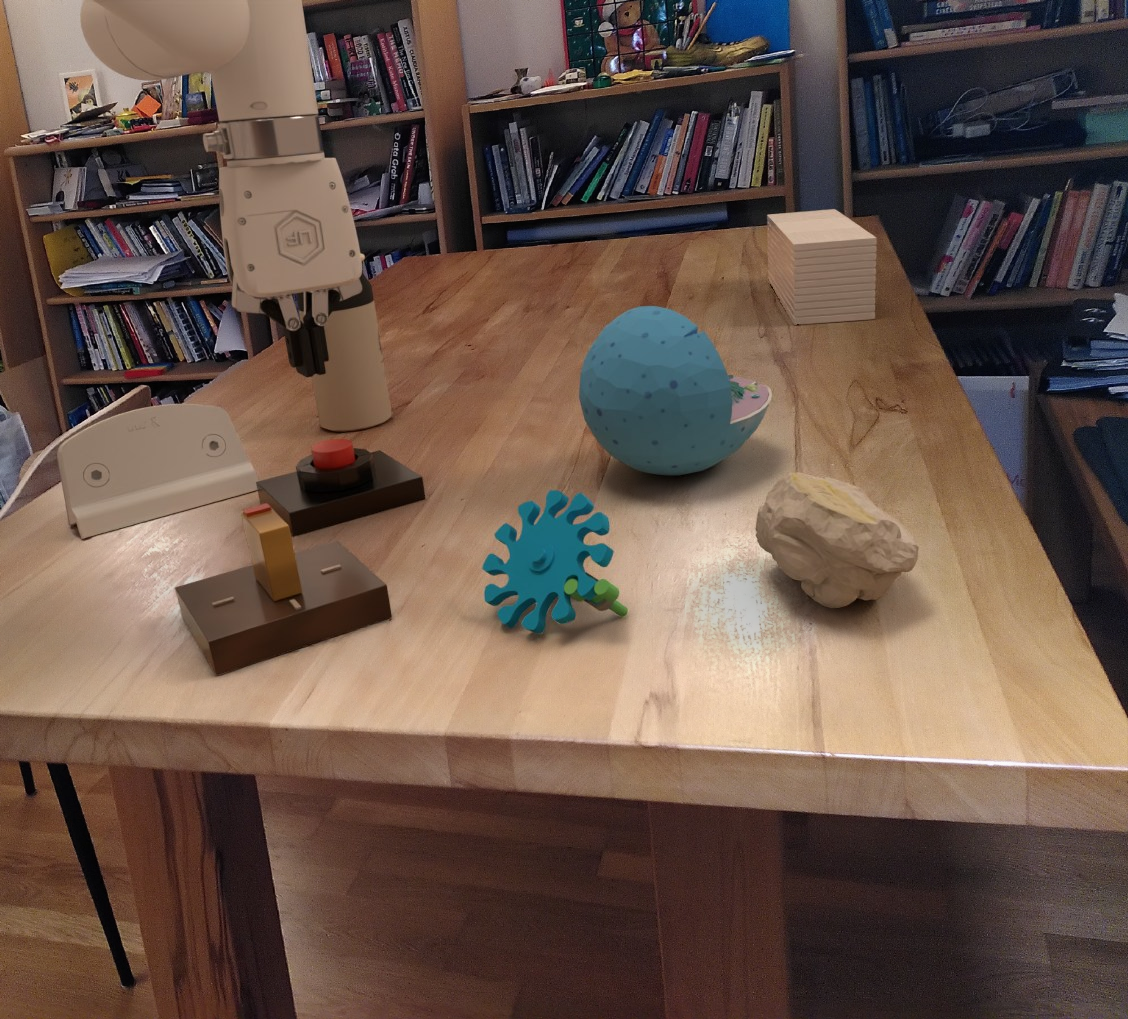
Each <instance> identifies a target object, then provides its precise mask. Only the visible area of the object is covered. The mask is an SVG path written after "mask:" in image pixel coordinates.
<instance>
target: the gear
mask: <svg viewBox="0 0 1128 1019" xmlns="http://www.w3.org/2000/svg"><path fill="white" fill-rule="evenodd" d="M569 500H570V498H569V497H568V496H567V495H566V494H565V493H563V492H561V491H560V490H557V489H556V490H555V489H550V490H549V491H548V492H547V494H546V496H545V505H544V509H543V512H542V514H541V515H540V513H541V506H540V505H539V504H538V503H536V501H534V500H528V501H525V502H522V503H521V504H519V505H518V509H517V513H518V515H519V517H520V518H521V532H520V535H519V537H518V539H517V536H518V531H517V529H516V528H515V527H513V526H512V525H510V524H509V523H507V522H505V523H503V524H502V525H501V526H499V528H498V529H497V530H496V532H494V537H495V539H496V540H497V541H499V542H500V543H502V544H503V545H505V546H506V548H507V550H508V553H509V558H508V560H506V562H504V559H502V558H501V557H500V556H498V555H496V554H495V553H488V555H487V556H486V558H485V559H484V562H483V565H482V567H481V569H482V570H483V571H484V572H485V573H487V574H489V575H490V576H493V577H495V576H499V575H507V578H508V580H507V582H506V584H505V585H504V586H502V587H500V586H498V585H497V584H494V583H489V584H487V585H486V586H484V592H483V593H484V594H483V596H484V597H483V598H484V602H485V603H487V604H489V605H490V606H492V607H497V606H499V605H501V604H502V603H503V602H504V601H505V600H507V599H509V598H511V597H515V596H517V600H516V601H515V602H514V603H513V604H509V605H503V606H501V607H500V608H499V609H498V610H497V612H496V615H497V618H498V620H499V621H500V622H501V623H502V625H504V626H505V627H507V628H509V629H513V628H515V627H516V626H517V625H518V623H519V622H520V619H521V618H522V616H523V614H524V613H525V612H526V611H527V610H528V609H529V608H531V607H532V606H534V605H535V607H534V609H533V610H531V611H530V612H528V613H527V614H526V615H525V616H524V617H523V618H522V620H521V627H523V629H525V630H527V631H529V632H532V633H533V634H537V635H541V634H543V633H544V631H545V629H546V620H547V615H548V612H549V609H550V608H551V606H552V605H553V603H554V602H555V600H556V599H557V598H558V599H557V602H556V604H555V605H554V607H553V608H552V610H551V619H552V620H553V621H555V622H556V623H558V624H559V625H565V624H568V623H571V622H573V621H575V620H576V616H577V612H576V610H575V608H574V607H573V603H572V599H574V600H576V601H578V602H583V601H584V602H585V603H586V604H588V605H589V606H591V607H593V608H594V609H595V610H597V611H599V612H605V611H608V610H609V611H611V612H613V613H614V614H616V615H617V616H618V617H620V618H624V617H626V616H627V615H628V613H629V609H628V607H627V606H625V605H624V604H622V603H621V602H620V601H618V598H619V597H620V589H619V587H617V586H616V585H614V584H613V583H612V582H610V581H609V580H607V579H605V578H601V579H599V578H596V577H595V576H593V575H591V574H589V572H587V571H586V569H585V567H584V566H585V565H584V563H585V561H586V559H587V558H588V557H590V558H591V560H592V561H593V562H594V563H595V564H597V565H598V566H599V567H601V568H608V567H609V565H610V563H611V562H612V559H613V556H614V552H615V550H614V549H612V548H611V546H608V545H607V544H605V543H604V542H601V543H597V544H586V543H585V542H584V541H585V537H586V536H587V535H588V534H590V533H594V534H596V535H598V536H601V537H602V536H603V537H604V536H606V535H608V534H609V532H610V526H611V524H610V520H609V517H608V516H607V515H606V514H604V513H603V512H602V511H598V512H595V513H593V514H592V515H591V516H590V517H589V518H587V519H586V520H584V521H582V522H579V523H574V522H575V520H576V519H577V518H578V517H580V516H586V515H589V514H591V513H592V512H593V510H595V505H594V503H593V502H592V500H591V499H590V498H588V497H587V496H586V495H584V493H583V492H577V494H575V495H574V496H573V498H572V500H571V503H570V504H569V505H568V503H569ZM566 506H567V508H566ZM565 508H566V509H565ZM563 509H565V510H564V511H563V512H562V513H561V514H558V513H559V512H560V511H562V510H563ZM557 514H558V516H557ZM539 516H540V517H539ZM538 517H539V518H538ZM537 519H538V520H537ZM536 521H537V522H536Z"/></svg>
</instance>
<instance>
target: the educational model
mask: <svg viewBox="0 0 1128 1019" xmlns="http://www.w3.org/2000/svg"><path fill="white" fill-rule="evenodd" d="M698 331H699V327H698V325H697V324H696V323H695V322H693V321H692V320H690V319H689V318H687V317H686V316H685V315H684V314H681V313H679V312H678V311H675V310H673V309H671V308H666V307H661V306H657V305H645V306H643V305H642V306H637V307H634V308H630V309H628V310H626V311H624V312H623V313H621V314H619V315H617V317H615V319H613V320H611V321H610V322H609V323H608V324H607V325H605V326H604V328H603V329H602V330H601V331H600V333H599V335H598V336H597V337H596V339H595V340H594V342H593V343H592V344H591V346H590V348H589V350H588V351H587V353H586V355H585V357H584V359H583V363H582V366H581V367H582V368H581V369H580V373H579V375H580V376H579V388H578V399H579V403H580V407H581V411H582V416H583V419H584V422H585V424H586V425H587V427H588V428H589V430H590V432H591V433H592V435H593V437H594V438H595V440H596V442H597V443H598V445H600V446H601V448H603V449H604V450H605V451H606V452H607V453H608V454H609V455H610V456H611V457H612V458H613V459H616V460H617V461H619V462H620V463H622V464H624V465H626V466H628V467H629V468H631V469H634V470H636V471H638V472H641V473H647V474H651V475H659V476H677V477H679V476H682V475H688V474H693V473H698V472H704V471H705V470H707V469H709V468H712V467H714V466H715V465H717V464H718V463H720V462H722V461H724V460H725V459H727V458H728V457H730V456H731V455H733V454H735V453H736V452H737V451H739V449H740V448H742V447H743V445H744V444H745V443H746V442H747V441H748V440H749V439H750V437H752V435H753V434H754V433H755V432H756V431H757V429H758V428H759V426H760V424H761V423H762V421H763V420H764V418H765V415H766V414H767V411H768V408H769V405H770V403H771V401H772V398H773V393H772V390H771V387H769V386H768V385H766V384H758V381H756V380H752V379H749V378H746V377H741V376H734V375H733V374H728V371H727V369H726V367H725V363H724V362H723V360H722V358H721V355H720V353H719V352H718V350H717V348H716V347H715V344H714V343H713V341H712V340H711V339H710V337H709V336H708V334H707V333H706V331H705V330H704V331H703V330H702V331H699V332H698Z"/></svg>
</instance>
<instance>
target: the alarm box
mask: <svg viewBox="0 0 1128 1019" xmlns="http://www.w3.org/2000/svg"><path fill="white" fill-rule="evenodd" d="M353 448H354V454H355V460H356V461H354V462H353V463H351V464H349V465H345V466H341V467H337V468H327V469H321V468H314V463H313V457H312V454H310V455H307V456H306V457H304V458H302V459H300V460H299V461H298V463H297V464H296V466H295V471H293V472H288V473H285V474H281V475H277V476H274V477H273V476H272V477H270V478H265V479H261V480H259V481H257V482H256V485H257V490H256V491H257V494H258V499H259V505H261V504H265V503H268V504H269V505H270V507H271V508H272V509H273V510H274V511H275V512H276V513H277V514H278V515H279V516H280V517H281V518H282V519H283V520H284V521H285V522H286V523H287V524H288V525H289V528H290V533H291V537H294V538H295V537H298V536H302V535H306V534H309V533H312V532H317V531H320V530H322V529H326V528H330V527H334V526H338V525H341V524H344V523H348V522H351V521H354V520H358V519H362V518H365V517H369V516H372V515H376V514H380V513H383V512H386V511H390V510H393V509H397V508H400V507H401V508H402V507H405V506H407V505H410V504H414V503H418V502H422V501H426V500H427V499H426V498H427V497H426V493H425V485H424V480H423V476H422V475H420V474H419V473H417V472H415V471H414V470H412V469H411V468H409V467H407V466H406V465H405V464H403V463H401V462H399V461H398V460H397V459H395V458H393V457H392V456H390V455H389V454H387V453H385V452H384V451H382V450H379V449H378V450H375V451H371V452H370V451H369V450H367V449H365V448H357V447H353Z"/></svg>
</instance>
